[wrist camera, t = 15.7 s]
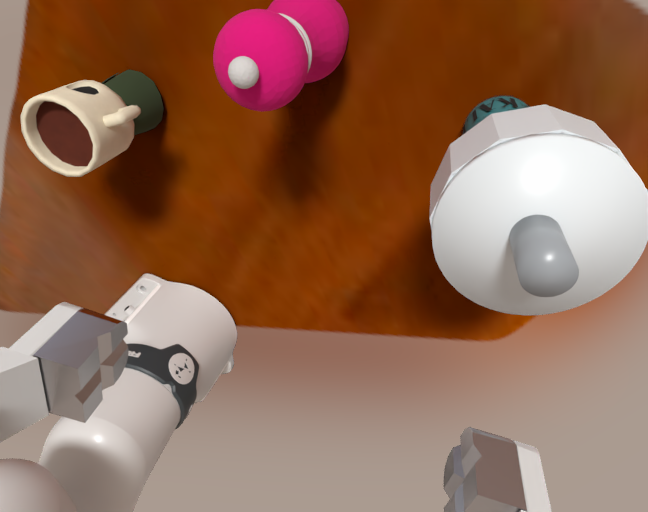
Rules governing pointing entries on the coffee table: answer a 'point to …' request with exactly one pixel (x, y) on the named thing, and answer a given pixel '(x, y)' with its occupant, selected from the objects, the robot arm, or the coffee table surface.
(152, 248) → the coffee table surface
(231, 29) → the pepper mill
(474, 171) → the cap
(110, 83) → the character mug
